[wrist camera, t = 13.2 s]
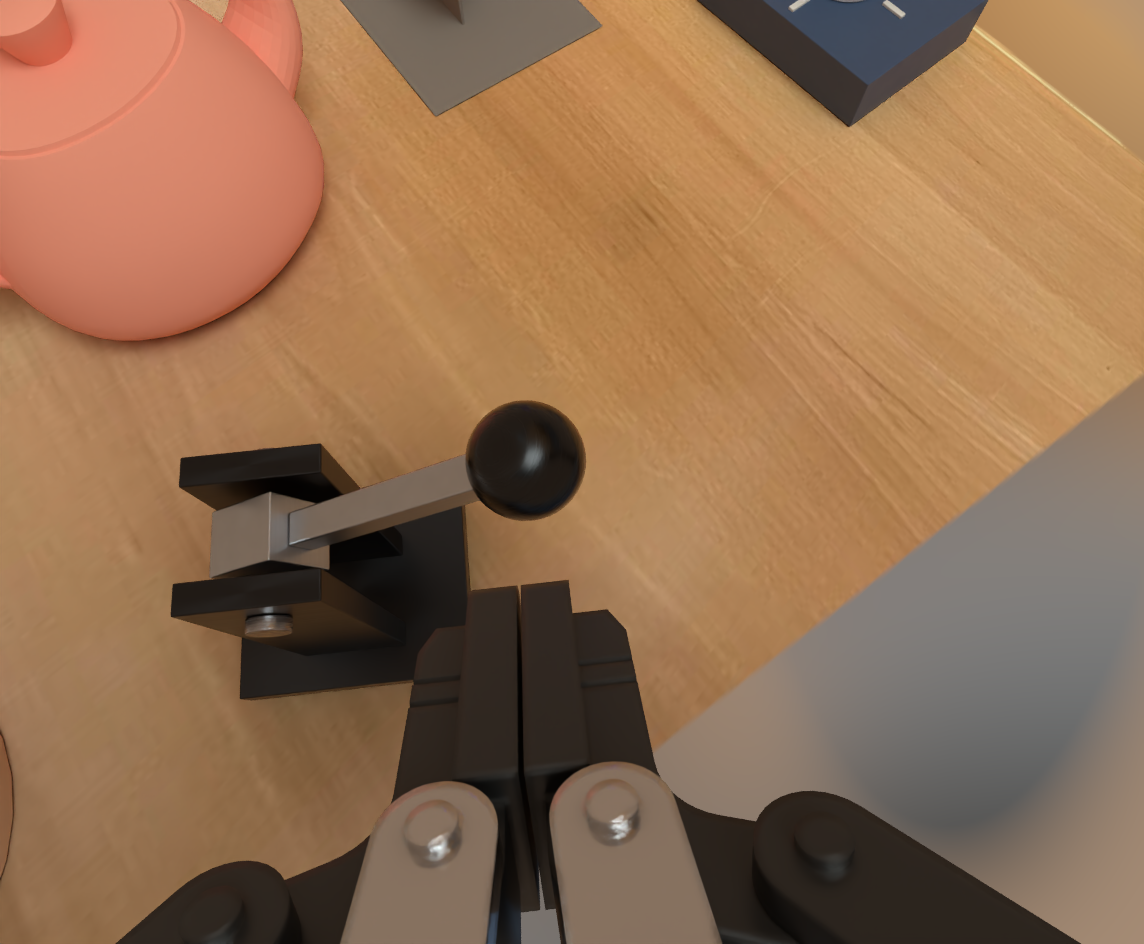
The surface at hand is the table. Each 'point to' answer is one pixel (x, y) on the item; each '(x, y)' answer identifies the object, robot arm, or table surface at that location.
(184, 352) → the table surface
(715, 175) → the table surface
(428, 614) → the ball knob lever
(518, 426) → the lever handle
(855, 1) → the tap knob
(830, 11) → the rotary dial base
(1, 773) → the bowl
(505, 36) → the platform
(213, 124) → the teapot
